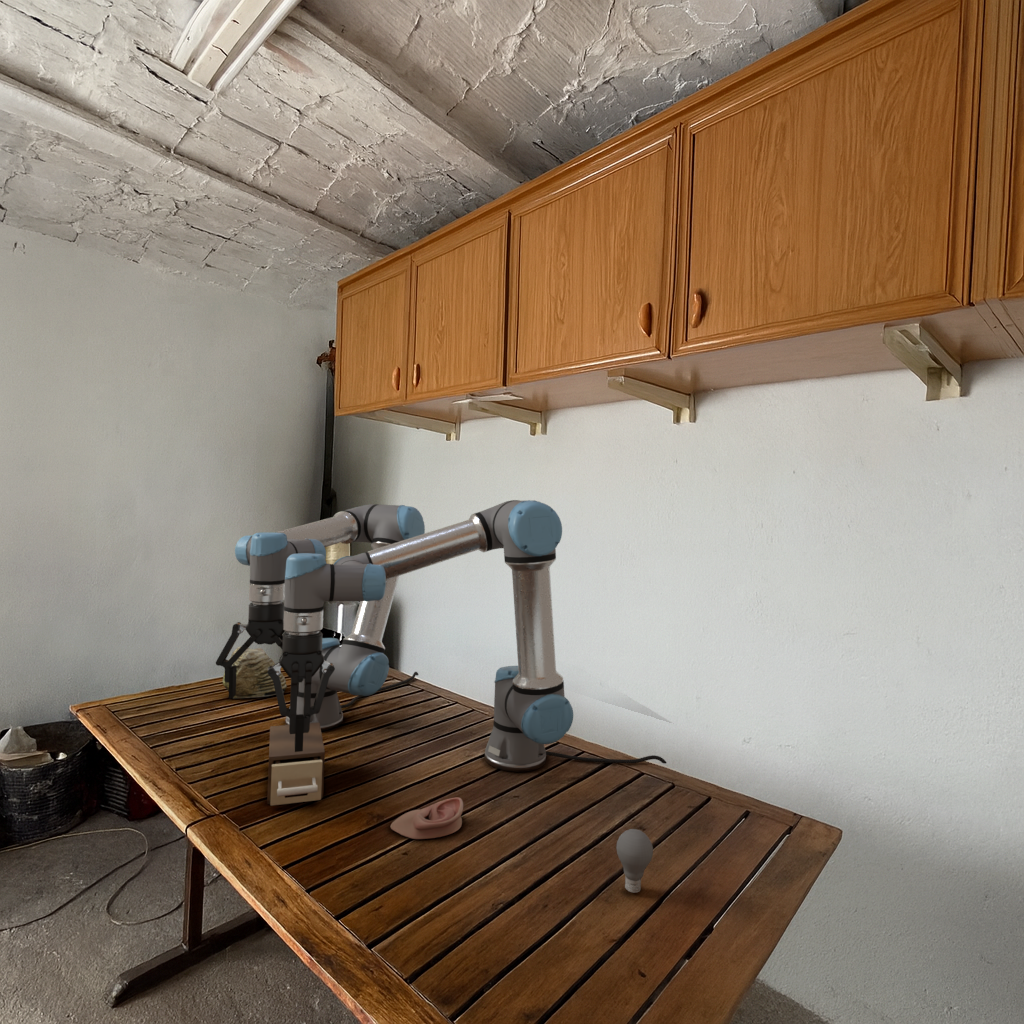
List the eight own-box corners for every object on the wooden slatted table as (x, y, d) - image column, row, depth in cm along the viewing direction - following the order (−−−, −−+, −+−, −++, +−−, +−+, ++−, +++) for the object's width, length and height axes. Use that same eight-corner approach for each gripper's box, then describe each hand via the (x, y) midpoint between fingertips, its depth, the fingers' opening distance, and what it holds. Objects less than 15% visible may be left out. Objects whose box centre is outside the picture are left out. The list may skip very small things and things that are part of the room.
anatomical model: (384, 813, 120) (406, 787, 131) (383, 834, 120) (405, 806, 131) (452, 824, 117) (468, 796, 128) (451, 845, 117) (467, 815, 128)
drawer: (322, 811, 126) (324, 772, 126) (269, 818, 122) (271, 777, 122) (316, 766, 146) (317, 732, 146) (271, 770, 143) (272, 736, 143)
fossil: (218, 695, 195) (220, 647, 195) (278, 685, 208) (279, 640, 207) (228, 703, 189) (230, 653, 188) (289, 692, 201) (290, 645, 201)
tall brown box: (323, 797, 133) (324, 751, 133) (267, 804, 130) (268, 757, 129) (318, 763, 150) (319, 722, 150) (268, 768, 146) (270, 726, 146)
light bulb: (610, 879, 108) (613, 822, 108) (644, 879, 109) (647, 822, 109) (619, 902, 102) (622, 840, 102) (655, 901, 103) (658, 840, 103)
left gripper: (202, 603, 136) (199, 702, 136) (322, 605, 139) (318, 701, 139) (213, 598, 143) (210, 691, 143) (327, 600, 146) (324, 691, 147)
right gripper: (267, 636, 120) (263, 759, 121) (338, 634, 125) (333, 753, 125) (268, 628, 127) (263, 744, 128) (335, 626, 132) (331, 739, 132)
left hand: (264, 696), depth 141 cm, fingers open, 13 cm apart
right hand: (298, 748), depth 126 cm, fingers closed
